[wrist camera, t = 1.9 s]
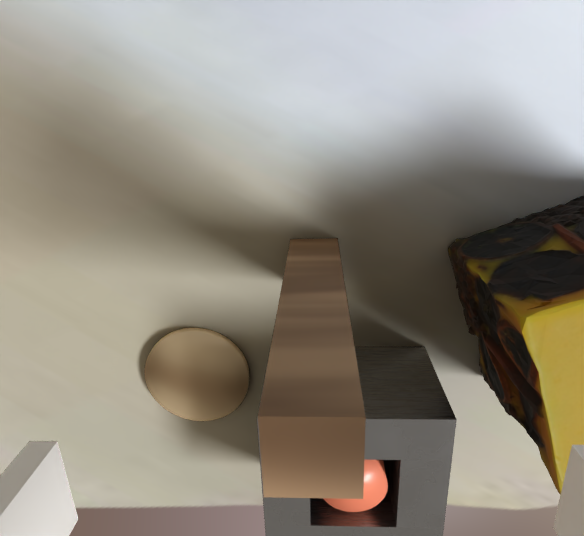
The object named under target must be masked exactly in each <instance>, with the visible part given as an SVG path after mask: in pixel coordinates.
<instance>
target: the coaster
mask: <svg viewBox="0 0 584 536" xmlns="http://www.w3.org/2000/svg"><path fill="white" fill-rule="evenodd" d="M145 380H146V384H147V386H148V389H149V391H150V393H151V394H152V396H153V397H154V399H155V400H156V401H157V402H158V403H159V404H160V405H161V406H162V407H163V408H165V409H166V410H168V411H169V412H171V413H173V414H175V415H177V416H179V417H182V418H185V419H188V420H194V421H210V420H216V419H219V418H222V417H224V416H227V415H228V414H230V413H232V412H233V411H234V410H235V409H237V408H238V406H239V405H240V404H241V403H242V401H243V400H244V398H245V396H246V393H247V390H248V386H249V380H250V373H249V367H248V364H247V361H246V359H245V357H244V355H243V353H242V352H241V350H240V349H239V348H238V347H237V346H236V345H235V344H234V343H233V342H232V341H231V340H229V339H228V338H227V337H225V336H223V335H221V334H219V333H217V332H215V331H212V330H208V329H203V328H183V329H179V330H176V331H173V332H171V333H169V334H167V335H165V336H164V337H162V338H161V339H160V340H159V341H158V342H157V343H156V344H155V346H154V347H153V349H152V350H151V352H150V353H149V355H148V357H147V360H146V364H145Z"/></svg>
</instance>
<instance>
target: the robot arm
mask: <svg viewBox="0 0 584 536" xmlns="http://www.w3.org/2000/svg"><path fill="white" fill-rule="evenodd" d="M77 520H78V516H77V513H76V509H75V505H74V501H73V498H72V494H71V490H70V486H69V483H68V479H67V475H66V471H65V467H64V464H63V460H62V456H61V452H60V449H59V445H58V441H29V442H28V443H27V445H26V446H25V447H24V448H23V449H22V450H21V452H20V453H19V454H18V455H17V456H16V458H15V459H14V460H13V461H12V462H11V463H10V465H9V466H8V467H7V468H6V469H5V470H4V472H3V473H2V474H1V475H0V536H69V534H70V533H71V531H72V529H73V527H74V526H75V524H76V522H77ZM554 529H555V531H556V533H557V535H558V536H584V445H572V447H571V451H570V456H569V460H568V464H567V469H566V473H565V478H564V482H563V487H562V491H561V495H560V500H559V504H558V509H557V513H556V518H555V522H554Z"/></svg>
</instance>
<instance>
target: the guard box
mask: <svg viewBox="0 0 584 536" xmlns="http://www.w3.org/2000/svg"><path fill="white" fill-rule="evenodd" d="M270 348H271V347H270ZM269 353H270V351H269ZM355 353H356V359H357V366H358V372H359V378H360V385H361V391H362V397H363V404H364V410H365V417H366V421H365V454H364V460H383V461H384V467H385V472H386V477H387V483H388V489H387V493H386V495H385V497H384V499H383V500H382V501H381V502H380V503H379V504H378V505H376V506H375V507H373V508H371V509H368V510H365V511H361V512H346V511H342V510H339V509H336V508H334V507H332V506H331V505H329V504H328V503H327V502H326V501H325V500H324V499H323V498H274V497H264V493H263V479H262V466H261V452H260V439H259V425H258V415H257V426H258V440H259V453H260V466H261V479H262V493H263V506H264V519H265V533H266V536H443V530H444V520H445V513H446V512H445V511H446V504H447V496H448V487H449V479H450V470H451V462H452V453H453V444H454V436H455V427H456V418H455V415H454V413H453V411H452V408H451V406H450V404H449V402H448V399H447V397H446V395H445V393H444V390H443V388H442V386H441V383H440V381H439V379H438V377H437V374H436V372H435V370H434V367H433V365H432V363H431V361H430V358H429V356H428V354H427V352H426V349H425V347H355ZM268 359H269V356H268ZM267 364H268V362H267ZM266 370H267V367H266ZM265 375H266V372H265ZM264 380H265V378H264ZM263 386H264V383H263ZM262 391H263V388H262ZM261 397H262V394H261ZM260 402H261V399H260ZM259 408H260V404H259ZM258 413H259V410H258Z"/></svg>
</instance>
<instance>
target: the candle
mask: <svg viewBox="0 0 584 536" xmlns="http://www.w3.org/2000/svg"><path fill="white" fill-rule="evenodd" d="M448 252H449V257H450V260H451V263H452V266H453V270H454V274H455V278H456V281H457V287H456V288H458V292H459V297H460V300H461V303H462V306H463V308H464V315H465V319H466V323H467V324H468V325H470V328H469V333H471V334H473V335H476V336H477V337H478V340H479V352H480V362H479V365H480V367H481V373H482V374H483V377H484V380H485V381H486V382H487V383H488V385H489V386H490V388H491V389H492V390H493V391H495V394H496V396H497V398H498V400H499V401H500V403H501V405H502V406H503V407H504V409H505V411H506V413H508V414H509V415H512V416H513V417H514V418H515V419H516V420H517V421H518V422H519V423H520V424H521V425H522V426H523V427H524V428H525V429H526V431H527V433H528V434H529V436H530V437H531V438H532V439H533V440H534V442H535V443H536V444H537V446H538V448H539V451H540V455H541V459H542V460H543V462H544V464H545V466H546V468H547V469H548V471H549V474H550V476H551V478H552V480H553V482H554V485H555V487H556V489H557V490H558V492H559V493H560V495H561V491H562V487H563V482H564V478H565V473H566V469H567V464H568V460H569V456H570V451H571V447H572V445H584V196H582V197H579V198H577V199H574V200H572V201H570V202H569V203H567V204H566V205H558V206H556V207H554V208H550V209H546V210H545V211H543V212H540V213H535V214H531V215H529V216H527V217H525V218H522V219H516V220H514V221H513V222H511V223H509V224H506V225H503V226H501V227H498V228H496V229H491V230H488V231H485V232H482V233H479V234H476V235H474V236H471V237H469V238H463V239H456V241H455V242H454V243H453V244H452V245H451V246H450V247H449V248H448Z"/></svg>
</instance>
